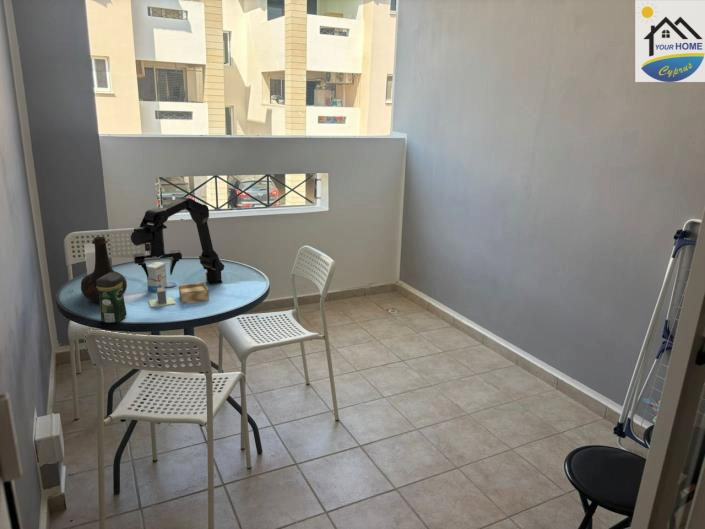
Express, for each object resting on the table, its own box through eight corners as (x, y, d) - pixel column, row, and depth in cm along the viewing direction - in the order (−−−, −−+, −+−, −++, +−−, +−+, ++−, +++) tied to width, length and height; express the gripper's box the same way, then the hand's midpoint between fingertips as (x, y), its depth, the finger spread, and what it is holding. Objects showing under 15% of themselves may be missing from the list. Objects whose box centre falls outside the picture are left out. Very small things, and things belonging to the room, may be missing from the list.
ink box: (157, 292, 234) (155, 267, 231) (147, 291, 235) (145, 266, 231) (167, 286, 242) (165, 262, 239) (158, 285, 243) (155, 261, 239)
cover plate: (172, 298, 228) (171, 285, 226) (175, 304, 221) (174, 290, 219) (148, 302, 223) (147, 288, 221) (151, 308, 217) (149, 294, 215)
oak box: (204, 293, 235) (203, 282, 233) (209, 300, 226) (208, 289, 225) (179, 296, 230) (178, 285, 228) (183, 304, 221) (182, 292, 220)
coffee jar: (111, 313, 209) (105, 270, 204) (129, 315, 209) (125, 271, 203) (97, 323, 200) (91, 278, 195) (117, 324, 199) (111, 279, 194)
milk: (104, 291, 233) (99, 244, 226) (89, 293, 231) (83, 245, 224) (104, 287, 238) (99, 241, 232) (90, 288, 236) (84, 242, 229)
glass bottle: (79, 297, 225) (70, 235, 217) (122, 289, 236) (115, 230, 228) (87, 310, 212) (78, 244, 204) (133, 301, 222) (126, 238, 214)
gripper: (176, 234, 225) (179, 268, 229) (130, 237, 217) (134, 273, 221) (181, 240, 215) (183, 275, 220) (132, 244, 207) (136, 280, 212)
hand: (159, 276), depth 218 cm, fingers open, 9 cm apart
